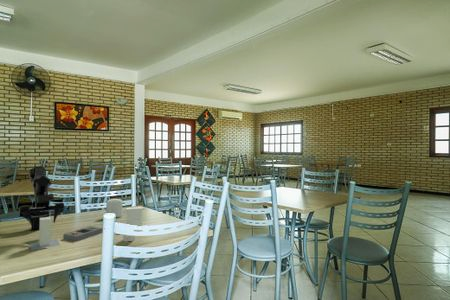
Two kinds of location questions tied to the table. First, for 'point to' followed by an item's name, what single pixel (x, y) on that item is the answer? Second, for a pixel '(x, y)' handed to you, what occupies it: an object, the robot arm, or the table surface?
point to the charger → (45, 231)
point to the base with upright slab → (134, 216)
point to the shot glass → (128, 238)
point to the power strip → (82, 233)
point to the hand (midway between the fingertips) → (43, 223)
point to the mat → (36, 246)
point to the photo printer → (114, 207)
